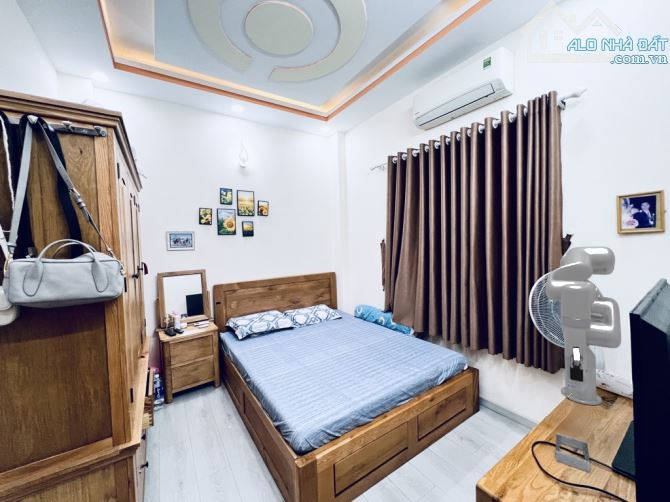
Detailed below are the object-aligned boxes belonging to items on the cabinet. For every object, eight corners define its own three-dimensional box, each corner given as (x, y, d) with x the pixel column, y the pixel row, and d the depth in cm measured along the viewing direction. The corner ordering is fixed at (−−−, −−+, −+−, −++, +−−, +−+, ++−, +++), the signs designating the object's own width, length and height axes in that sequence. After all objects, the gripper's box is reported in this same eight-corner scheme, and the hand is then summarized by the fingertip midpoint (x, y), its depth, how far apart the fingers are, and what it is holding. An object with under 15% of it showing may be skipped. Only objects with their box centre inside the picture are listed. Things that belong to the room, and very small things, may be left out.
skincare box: (581, 392, 90) (581, 354, 90) (564, 387, 94) (563, 350, 94) (588, 386, 94) (588, 350, 93) (571, 381, 97) (570, 346, 97)
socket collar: (556, 440, 91) (556, 432, 91) (587, 450, 87) (587, 442, 86) (555, 460, 83) (555, 451, 83) (589, 472, 78) (589, 463, 78)
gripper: (561, 314, 103) (561, 364, 103) (560, 326, 89) (561, 383, 89) (588, 317, 98) (589, 369, 98) (593, 330, 84) (593, 390, 85)
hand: (576, 375), depth 94 cm, fingers closed on skincare box, 6 cm apart
